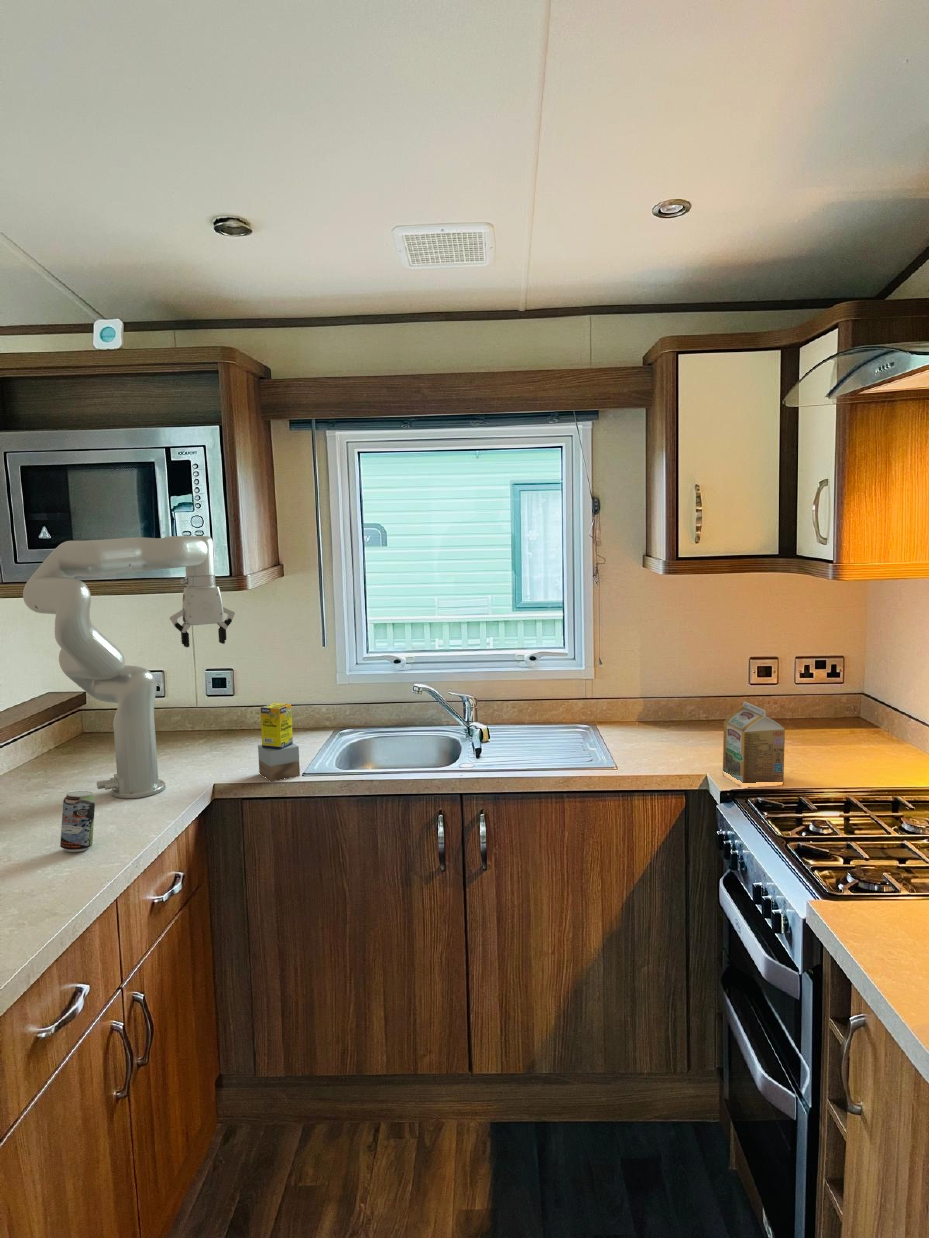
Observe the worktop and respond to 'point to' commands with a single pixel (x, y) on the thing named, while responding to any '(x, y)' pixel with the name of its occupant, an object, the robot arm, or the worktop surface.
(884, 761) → the worktop surface
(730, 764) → the milk carton
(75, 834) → the beverage can
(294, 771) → the walnut block
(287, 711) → the supplement box
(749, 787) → the worktop surface
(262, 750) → the slate block
